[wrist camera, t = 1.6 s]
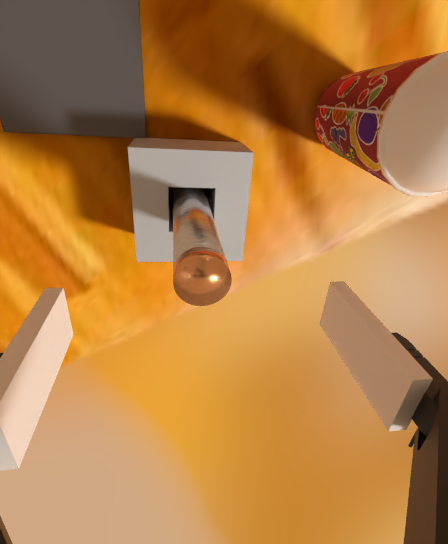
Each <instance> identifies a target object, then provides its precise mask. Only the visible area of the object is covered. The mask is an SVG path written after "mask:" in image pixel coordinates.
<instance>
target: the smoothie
mask: <svg viewBox="0 0 448 544" xmlns="http://www.w3.org/2000/svg"><path fill="white" fill-rule="evenodd" d="M315 127H316V133H317V135H318V137H319V139H320V142H321V143H322V144H323V145H324V146H325V147H326V148H327V149H329V150H331V151H332V152H334V153H336V154H338V155H339V156H341V157H343V158H345V159H346V160H348V161H350V162H352V163H353V164H355V165H357V166H358V167H360V168H362V169H364V170H365V171H367V172H369V173H371V174H372V175H374V176H376V177H377V178H379V179H381V180H383V181H384V182H386V183H388V184H390V185H392V186H393V187H394V188H395V189H397V190H399V191H401V192H403V193H405V194H407V195H409V196H424V197H428V196H432V195H435V194H439V193H443V192H446V191H448V51H446V52H443V53H439V54H434V55H430V56H426V57H421V58H417V59H412V60H408V61H404V62H399V63H395V64H390V65H386V66H382V67H377V68H373V69H368V70H364V71H360V72H355V73H351V74H348V75H345V76H342V77H340V78H339V79H337V80H336V81H335V82H333V83H332V84H331V85H330V86H329V87H328V89H327V90H326V91H325V92H324V94H323V95H322V97H321V99H320V101H319V104H318V106H317V110H316V116H315Z"/></svg>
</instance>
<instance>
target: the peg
mask: <svg viewBox="0 0 448 544" xmlns="http://www.w3.org/2000/svg"><path fill="white" fill-rule="evenodd" d="M173 284H174V289H175V291H176V293H177V295H178V296H179V297H180V298H181V299H182V300H183V301H185V302H187V303H189V304H191V305H196V306H206V305H211V304H213V303H216V302H218V301H219V300H221V299H222V298H223V297H224V296H225V295H226V294H227V292H228V291H229V289H230V286H231V274H230V270H229V267H228V264H227V261H226V257H225V254H224V251H223V248H222V245H221V241H220V238H219V235H218V232H217V229H216V225H215V222H214V219H213V216H212V212H211V209H210V206H209V203H208V200H207V196H206V193H205V190H204V188H185V187H173Z"/></svg>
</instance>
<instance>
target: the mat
mask: <svg viewBox="0 0 448 544" xmlns="http://www.w3.org/2000/svg"><path fill="white" fill-rule="evenodd" d="M0 119H1V123H2V127H3V131H4V132H20V133H41V134H62V135H84V136H105V137H126V138H146V122H145V103H144V84H143V66H142V47H141V28H140V9H139V0H0Z"/></svg>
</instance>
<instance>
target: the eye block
mask: <svg viewBox="0 0 448 544" xmlns="http://www.w3.org/2000/svg"><path fill="white" fill-rule="evenodd" d="M253 155H254V152H252V151H251V150H250V149H249V148H247V147H246V146H245V145H244V144H242V143H241V142H229V141H208V140H187V139H166V138H134V139H133V141H132V142H131V143H130V145H129V146H128V159H129V171H130V183H131V196H132V208H133V220H134V233H135V245H136V257H137V262H171V261H173V210H170V207H169V187H185V188H208V203H209V206H210V209H211V212H212V216H213V219H214V222H215V225H216V229H217V232H218V235H219V238H220V241H221V245H222V248H223V251H224V254H225V257H226V261H243V253H244V243H245V233H246V224H247V214H248V204H249V194H250V184H251V175H252V165H253Z"/></svg>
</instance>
